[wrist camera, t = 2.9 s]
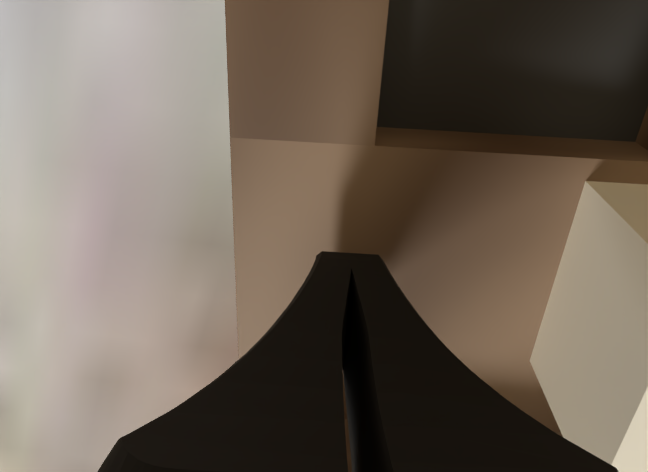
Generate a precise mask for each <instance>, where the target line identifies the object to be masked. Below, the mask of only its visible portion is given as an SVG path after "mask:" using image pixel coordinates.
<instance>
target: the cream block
mask: <svg viewBox="0 0 648 472" xmlns="http://www.w3.org/2000/svg"><path fill="white" fill-rule="evenodd" d="M530 363H531V365H532V367H533V370H534V372H535V374H536V376H537V379H538V381H539V383H540V386H541V388H542V390H543V392H544V395H545V397H546V399H547V402H548V404H549V406H550V408H551V411H552V413H553V415H554V418H555V420H556V422H557V424H558V427H559V429H560V431H561V434H562V436H563V438H565V439H567V440H569V441H570V442H572V443H574V444H575V445H577V446H579V447H581V448H582V449H584V450H586V451H588V452H589V453H591V454H593V455H595V456H596V457H598V458H600V459H602V460H603V461H605V462H607V463H609V464H610V465H612V466H614V467H616V468H617V470H618V471H619V472H648V185H647V184H630V183H612V182H595V181H585V184H584V187H583V190H582V194H581V197H580V200H579V203H578V206H577V210H576V213H575V216H574V219H573V223H572V226H571V229H570V232H569V235H568V239H567V242H566V245H565V248H564V252H563V255H562V258H561V261H560V264H559V268H558V271H557V274H556V277H555V281H554V284H553V287H552V290H551V293H550V297H549V300H548V303H547V306H546V310H545V313H544V316H543V319H542V322H541V326H540V329H539V332H538V335H537V339H536V342H535V345H534V348H533V351H532V355H531V358H530Z"/></svg>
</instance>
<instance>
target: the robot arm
mask: <svg viewBox="0 0 648 472" xmlns="http://www.w3.org/2000/svg"><path fill="white" fill-rule="evenodd" d="M343 376H344V387H345V399H346V409H347V420H348V431H349V441H350V452H351V465H352V472H619V471H618V470H617V468H616V467H614V466H612V465H610V464H609V463H607V462H605V461H603V460H602V459H600V458H598V457H596V456H595V455H593V454H591V453H589V452H588V451H586V450H584V449H582V448H581V447H579V446H577V445H575V444H574V443H572V442H570V441H569V440H567V439H565V438H563V437H562V436H560V435H558V434H557V433H555V432H553V431H552V430H550V429H549V428H547V427H546V426H544V425H543V424H541V423H540V422H538V421H537V420H535V419H534V418H532V417H531V416H529V415H528V414H526V413H525V412H523V411H522V410H521V409H519V408H518V407H517V406H515V405H514V404H512V403H511V402H510V401H508V400H507V399H506V398H504V397H503V396H502V395H500V394H499V393H498V392H497V391H495V390H494V389H493V388H492V387H490V386H489V385H488V384H487V383H485V382H484V381H483V380H482V379H480V378H479V377H478V376H477V375H476V374H475V373H474V372H472V371H471V370H470V369H469V368H468V367H467V366H466V365H465V364H464V363H463V362H462V361H460V360H459V359H458V358H457V357H456V356H455V355H454V354H453V353H452V352H451V351H450V350H449V349H448V348H447V347H446V346H445V345H444V344H443V342H442V341H441V340H440V339H439V338H438V337H437V336H436V335H435V333H434V332H433V331H432V330H431V329H430V328H429V326H428V325H427V324H426V323H425V322H424V320H423V319H422V318H421V316H420V315H419V314H418V313H417V311H416V310H415V308H414V307H413V306H412V304H411V303H410V302H409V300H408V299H407V298H406V296H405V295H404V293H403V292H402V290H401V289H400V287H399V286H398V284H397V283H396V281H395V280H394V278H393V276H392V275H391V273H390V271H389V270H388V268H387V266H386V264H385V263H384V261H383V259H382V258H381V257H380V256H379V255H377V254H360V253H344V252H327V251H322V252H320V253H319V254H318V255H316V259H315V262H314V264H313V266H312V268H311V270H310V272H309V274H308V276H307V278H306V279H305V281H304V283H303V284H302V286H301V287H300V289H299V290H298V292H297V294H296V295H295V297H294V298H293V300H292V301H291V302H290V304H289V305H288V306H287V308H286V309H285V310H284V311H283V313H282V314H281V315H280V317H279V318H278V319H277V320H276V322H275V323H274V324H273V325H272V326H271V328H270V329H269V330H268V331H267V332H266V333H265V334H264V335H263V336H262V338H261V339H260V340H259V341H258V342H257V343H256V344H255V345H254V346H253V347H252V348H251V349H250V350H249V351H248V352H247V353H246V354H245V355H243V356H242V357H241V358H240V359H239V360H238V361H237V362H235V363H234V364H233V365H232V366H231V367H230V368H229V369H228V370H226V371H225V372H224V373H223V374H222V375H220V376H219V377H218V378H217V379H215V380H214V381H213V382H212V383H210V384H209V385H207V386H206V387H204V388H203V389H202V390H200V391H199V392H197V393H196V394H195V395H193V396H192V397H190V398H189V399H187V400H186V401H185V402H183V403H182V404H180V405H179V406H177V407H176V408H174V409H172V410H171V411H169V412H167V413H166V414H164V415H162V416H160V417H158V418H157V419H155V420H153V421H151V422H149V423H148V424H146V425H144V426H142V427H140V428H139V429H137V430H135V431H133V432H131V433H129V434H127V435H125V436H123V437H122V438H120V439H119V440H118V441H117V443H116V444H115V445H114V447H113V448H112V450H111V452H110V453H109V455H108V456H107V458H106V459H105V461H104V462H103V464H102V465H101V467H100V469H99V471H98V472H348V464H347V450H346V436H345V419H344V398H343Z"/></svg>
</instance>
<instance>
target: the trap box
mask: <svg viewBox="0 0 648 472" xmlns="http://www.w3.org/2000/svg"><path fill="white" fill-rule="evenodd" d="M225 16H226V42H227V69H228V95H229V121H230V147H231V174H232V200H233V226H234V253H235V279H236V305H237V331H238V358H239V359H240V358H241V357H242V356H243V355H245V354H246V353H247V352H248V351H249V350H250V349H251V348H252V347H253V346H254V345H255V344H256V343H257V342H258V341H259V340H260V339H261V338H262V336H263V335H264V334H265V333H266V332H267V331H268V330H269V329H270V328H271V326H272V325H273V324H274V323H275V322H276V320H277V319H278V318H279V317H280V315H281V314H282V313H283V311H284V310H285V309H286V308H287V306H288V305H289V304H290V302H291V301H292V300H293V298H294V297H295V295H296V294H297V292H298V290H299V289H300V287H301V286H302V284H303V283H304V281H305V279H306V278H307V276H308V274H309V272H310V270H311V268H312V266H313V264H314V262H315V259H316V255H318V254H319V253H320V252H322V251H327V252H344V253H360V254H377V255H379V256H380V257H381V258H382V259H383V261H384V263H385V264H386V266H387V268H388V270H389V271H390V273H391V275H392V276H393V278H394V280H395V281H396V283H397V284H398V286H399V287H400V289H401V290H402V292H403V293H404V295H405V296H406V298H407V299H408V300H409V302H410V303H411V304H412V306H413V307H414V308H415V310H416V311H417V313H418V314H419V315H420V316H421V318H422V319H423V320H424V322H425V323H426V324H427V325H428V326H429V328H430V329H431V330H432V331H433V332H434V333H435V335H436V336H437V337H438V338H439V339H440V340H441V341H442V342H443V344H444V345H445V346H446V347H447V348H448V349H449V350H450V351H451V352H452V353H453V354H454V355H455V356H456V357H457V358H458V359H459V360H460V361H462V362H463V363H464V364H465V365H466V366H467V367H468V368H469V369H470V370H471V371H472V372H474V373H475V374H476V375H477V376H478V377H479V378H480V379H482V380H483V381H484V382H485V383H487V384H488V385H489V386H490V387H492V388H493V389H494V390H495V391H497V392H498V393H499V394H500V395H502V396H503V397H504V398H506V399H507V400H508V401H510V402H511V403H512V404H514V405H515V406H517V407H518V408H519V409H521V410H522V411H523V412H525V413H526V414H528V415H529V416H531V417H532V418H534V419H535V420H537V421H538V422H540V423H541V424H543V425H544V426H546V427H547V428H549V429H550V430H552V431H553V432H555V433H557V434H558V435H560V436H562V434H561V431H560V429H559V427H558V424H557V422H556V420H555V418H554V415H553V413H552V411H551V408H550V406H549V404H548V402H547V399H546V397H545V395H544V392H543V390H542V388H541V386H540V383H539V381H538V379H537V376H536V374H535V372H534V370H533V367H532V365H531V363H530V358H531V355H532V351H533V348H534V345H535V342H536V339H537V335H538V332H539V329H540V326H541V322H542V319H543V316H544V313H545V310H546V306H547V303H548V300H549V297H550V293H551V290H552V287H553V284H554V281H555V277H556V274H557V271H558V268H559V264H560V261H561V258H562V255H563V252H564V248H565V245H566V242H567V239H568V235H569V232H570V229H571V226H572V223H573V219H574V216H575V213H576V210H577V206H578V203H579V200H580V197H581V194H582V190H583V187H584V184H585V181H595V182H612V183H630V184H647V185H648V0H225ZM343 398H344V419H345V436H346V450H347V464H348V472H352V465H351V452H350V441H349V431H348V420H347V409H346V399H345V387H344V376H343ZM562 437H563V436H562Z"/></svg>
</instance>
